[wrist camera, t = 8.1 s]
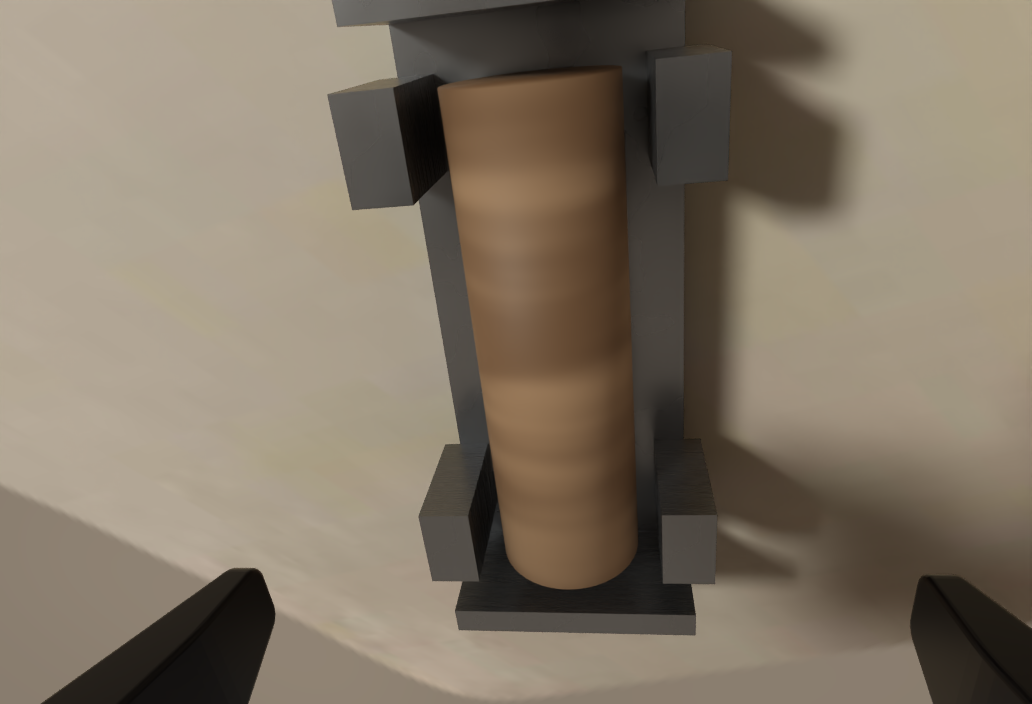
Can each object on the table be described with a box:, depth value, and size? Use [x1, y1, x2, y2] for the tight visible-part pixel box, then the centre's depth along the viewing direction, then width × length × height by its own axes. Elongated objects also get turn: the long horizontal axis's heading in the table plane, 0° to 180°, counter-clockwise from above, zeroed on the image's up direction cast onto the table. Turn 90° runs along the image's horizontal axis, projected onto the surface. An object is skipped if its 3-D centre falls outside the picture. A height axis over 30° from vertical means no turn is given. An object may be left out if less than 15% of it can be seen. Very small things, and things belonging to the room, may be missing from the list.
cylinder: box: [437, 65, 638, 589], centre depth 17 cm, size 13×4×4 cm, turn 6°
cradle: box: [328, 0, 732, 635], centre depth 18 cm, size 8×18×4 cm, turn 6°
